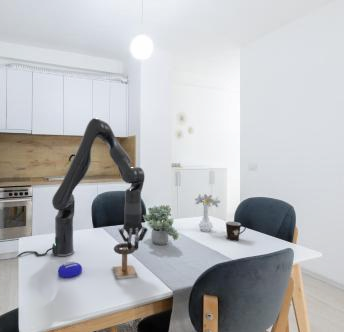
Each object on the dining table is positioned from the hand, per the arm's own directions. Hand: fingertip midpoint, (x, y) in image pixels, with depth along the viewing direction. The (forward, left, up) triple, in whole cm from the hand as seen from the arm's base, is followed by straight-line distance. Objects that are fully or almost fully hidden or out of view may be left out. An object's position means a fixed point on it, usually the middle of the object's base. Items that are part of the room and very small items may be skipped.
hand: (132, 249), depth 109 cm
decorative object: (-28, +3, -10) cm, 30 cm away
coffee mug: (+73, +28, -10) cm, 79 cm away
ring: (-4, 0, +1) cm, 4 cm away
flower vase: (+65, +49, -10) cm, 82 cm away
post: (-4, 0, -10) cm, 11 cm away
